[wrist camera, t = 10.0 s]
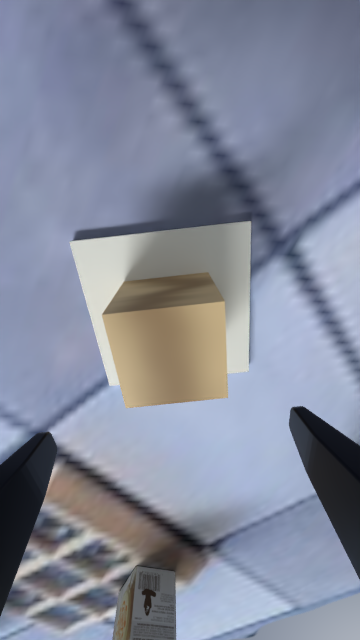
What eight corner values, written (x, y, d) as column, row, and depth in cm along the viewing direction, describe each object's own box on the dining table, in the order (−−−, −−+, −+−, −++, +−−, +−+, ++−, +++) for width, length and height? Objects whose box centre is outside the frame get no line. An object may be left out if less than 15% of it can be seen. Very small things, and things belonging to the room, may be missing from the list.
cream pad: (248, 220, 16) (251, 221, 16) (246, 367, 21) (248, 371, 21) (72, 240, 17) (69, 241, 16) (111, 381, 22) (109, 385, 21)
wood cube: (208, 272, 17) (225, 301, 12) (212, 345, 20) (227, 397, 14) (123, 281, 17) (101, 314, 12) (138, 353, 20) (125, 408, 14)
